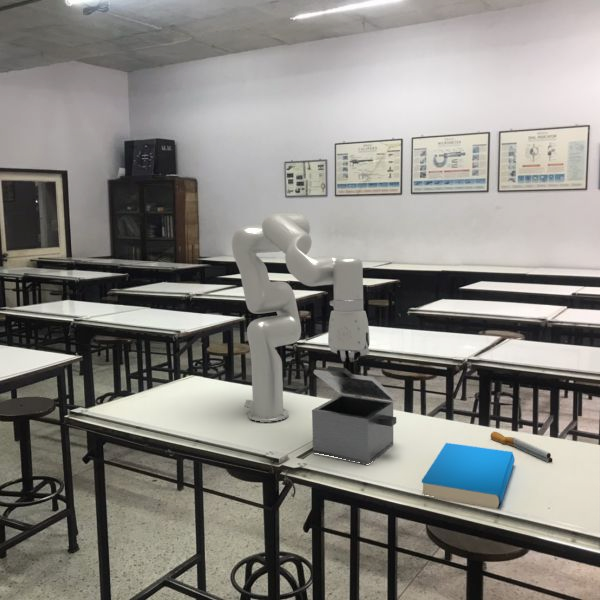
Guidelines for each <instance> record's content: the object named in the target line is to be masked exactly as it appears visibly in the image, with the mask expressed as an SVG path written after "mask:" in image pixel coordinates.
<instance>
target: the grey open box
mask: <svg viewBox="0 0 600 600" xmlns="http://www.w3.org/2000/svg"><path fill="white" fill-rule="evenodd" d="M311 416H312V419H311V422H312V423H311V425H312V454H313V453H319V454H324V455H329V456H334V457H338V458H342V459H346V460H350V461H355V462H360V463H365V464H369V463H371V462H372V461H373V462H374V461H376V460H377V459H378V458H380V456H382V455H383V454H384V453H385V452H387V451H388V450H389V449H390V448H391V447H393V446H394V425H396V424H397V416H394V401H388V400H381V399H374V398H367V397H361V396H354V395H347V394H339V395H337V396H335V397H334V398H331V400H328V401H326V402H324V403H323V404H321V405H318V406H317V407H315V408H313V409H312V410H311ZM387 449H388V450H387ZM386 450H387V451H386ZM376 458H377V459H376ZM375 459H376V460H375ZM373 462H372V463H373ZM372 463H371V464H372Z"/></svg>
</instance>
